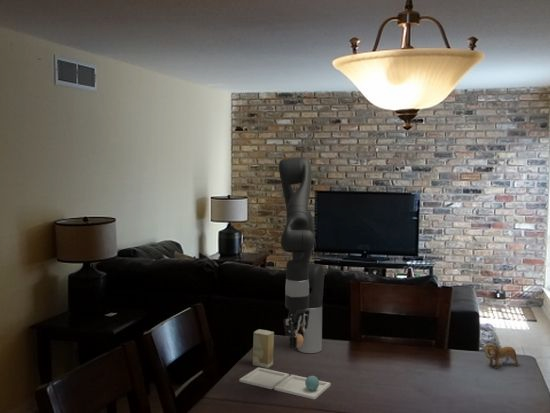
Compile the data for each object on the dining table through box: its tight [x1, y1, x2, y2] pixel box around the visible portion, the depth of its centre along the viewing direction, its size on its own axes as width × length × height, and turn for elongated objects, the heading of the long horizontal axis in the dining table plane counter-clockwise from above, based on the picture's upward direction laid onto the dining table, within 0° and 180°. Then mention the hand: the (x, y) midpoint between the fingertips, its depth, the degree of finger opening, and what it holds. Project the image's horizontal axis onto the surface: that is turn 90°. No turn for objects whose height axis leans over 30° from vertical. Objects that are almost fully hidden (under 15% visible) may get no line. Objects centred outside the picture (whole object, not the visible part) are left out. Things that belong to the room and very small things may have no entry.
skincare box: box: [252, 328, 275, 369], centre depth 198 cm, size 6×4×12 cm
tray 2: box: [273, 374, 332, 400], centre depth 178 cm, size 12×14×1 cm
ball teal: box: [305, 375, 320, 390], centre depth 177 cm, size 4×4×4 cm
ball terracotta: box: [296, 333, 304, 347], centre depth 178 cm, size 4×4×4 cm
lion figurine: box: [484, 342, 519, 369], centre depth 199 cm, size 15×5×9 cm, turn 113°
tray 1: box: [238, 366, 290, 390], centre depth 185 cm, size 12×12×1 cm
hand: (296, 345), depth 178 cm, fingers closed on ball terracotta, 4 cm apart
